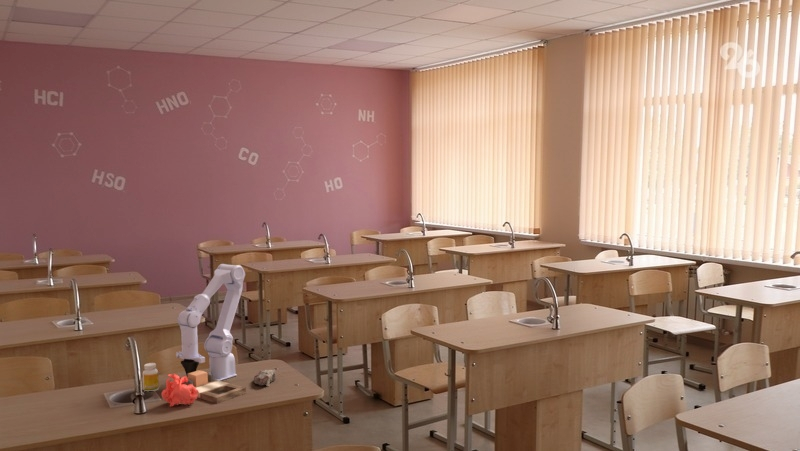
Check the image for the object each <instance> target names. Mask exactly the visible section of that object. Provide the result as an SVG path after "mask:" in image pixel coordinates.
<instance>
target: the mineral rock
mask: <svg viewBox="0 0 800 451" xmlns="http://www.w3.org/2000/svg"><path fill="white" fill-rule="evenodd" d="M275 380H276V369H261V370H260V371H258V372H257V373H256V374H255V375H254V378H253V383H254V384H256V385H259V386H266V387H270V384H271V383H272V382H273V381H275Z"/></svg>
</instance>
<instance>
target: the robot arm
mask: <svg viewBox="0 0 800 451" xmlns="http://www.w3.org/2000/svg"><path fill="white" fill-rule="evenodd" d="M213 271H214V275H213V277H212V278H211V280H210V281H209V283H208V284H207V285H206V287H205V288H204V290H203V291H202V293H199V294H197V295H195V296H194V297H193V300H192V301H191V302H190V304H189V305H188V306H187V307H186V308H185V310H182V311H181V312H179V314H178V317H177V319H176V321H177V324H178V325H179V329H180V332H181V333H180V334H181V335H180V336H181V338H180V339H181V351H180V350H179V351H176V352H175V358H176V359H177V358H178V359H181V361H180V365H182V367H183V370H184V371H185V376H186V377H188V374H187V373H191V372H194V371H197V370H198V369H197V368H198V366H199V365H200V364H203V363H206V357H205V356H203V355H201V354H200V353H199V342H198V341H199V340H198V336H199V335H198V325H199V324H200V323H201V320H202V316H203V313H204V312H205V311H206V310H207V308H208V307H209V306H210V304H211V300H210V299H211V298H212V297H213V296H214V295H215V294H216V293H217V291H218V290H219V289H220V288H221V287H222V286H223V285H224V286H225V288H226V290H227V291H226V294H225V297H224V301H223V303H222V306H221V310H220V313H219V316H218V319H217V320H218V321H217V323H216V326H215V328H214V329H213V330H212V331H210V332H209V335H208V337H207V338H206V339H205V341H204V345H203V346H204V347H203V348H204V350H205V352H207V355H208V359H209V360H208V361H209V364H208V366H209V373H210V374H214V380H218V381H223V380H226V379H231V378H233V377H235V376H236V377H237V376H238V374H237V373H236V359H235V356H234V354H233V353H232V350H233V341H234V337H233V335H232V333H231V328H232V325H233V322H234V318H235V316H236V312H237V309H238V307H239V302H240V299H241V296H242V291H243V288H244V286H243V285H244V280H245V277H246V272H245V270H244V267H243V266H242V265H241V264H238V265H235V264H226V263H221V264H219V265H218V266H217V268H216V269H215V270H213Z"/></svg>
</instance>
